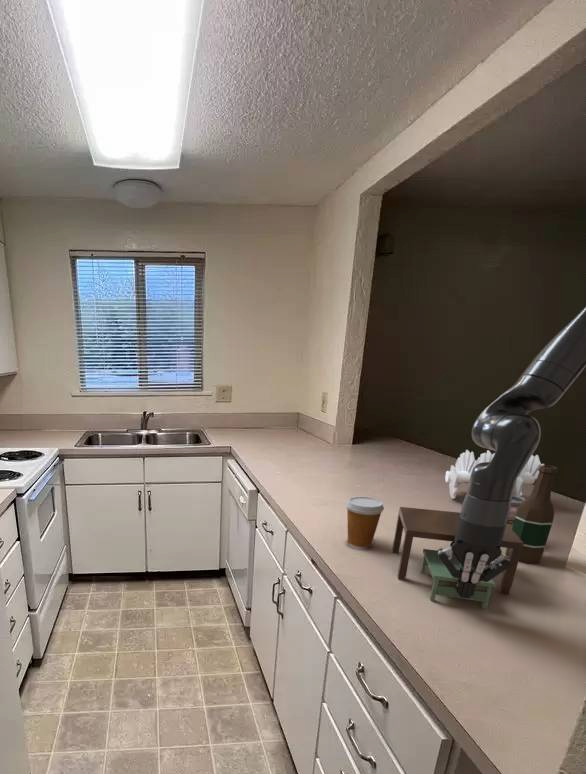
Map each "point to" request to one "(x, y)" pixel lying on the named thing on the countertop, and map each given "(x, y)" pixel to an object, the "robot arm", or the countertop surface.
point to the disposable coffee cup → (363, 519)
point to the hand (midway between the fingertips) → (463, 595)
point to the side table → (445, 537)
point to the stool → (450, 579)
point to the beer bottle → (535, 517)
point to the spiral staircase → (468, 462)
